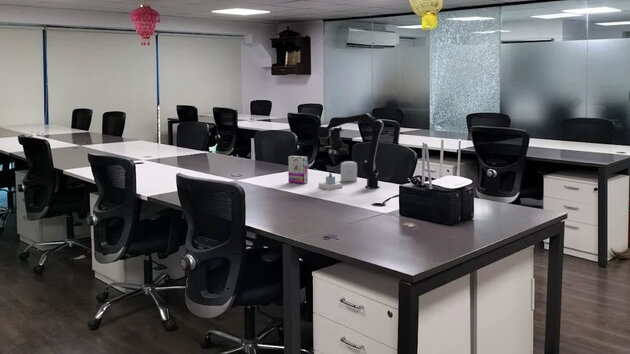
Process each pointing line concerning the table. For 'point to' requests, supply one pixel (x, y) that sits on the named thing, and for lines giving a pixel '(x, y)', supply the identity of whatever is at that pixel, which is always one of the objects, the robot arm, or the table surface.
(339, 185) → the socket plate
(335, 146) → the robot arm
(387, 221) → the table surface
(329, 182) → the plug
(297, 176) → the candy bar box
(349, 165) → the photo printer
